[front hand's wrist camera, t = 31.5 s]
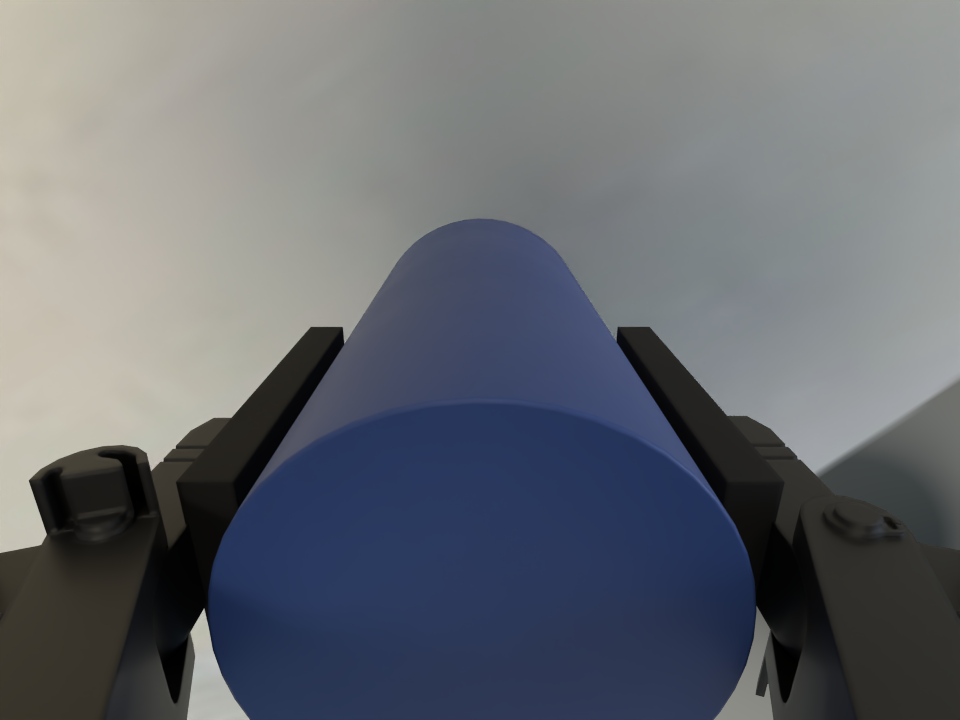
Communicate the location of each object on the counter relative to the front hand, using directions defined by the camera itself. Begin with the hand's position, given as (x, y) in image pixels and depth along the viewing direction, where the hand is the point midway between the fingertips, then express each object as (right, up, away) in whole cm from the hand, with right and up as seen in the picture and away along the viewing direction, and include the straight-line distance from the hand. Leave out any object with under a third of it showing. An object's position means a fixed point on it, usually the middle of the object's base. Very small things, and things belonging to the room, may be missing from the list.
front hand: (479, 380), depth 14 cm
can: (0, +2, +5) cm, 5 cm away
